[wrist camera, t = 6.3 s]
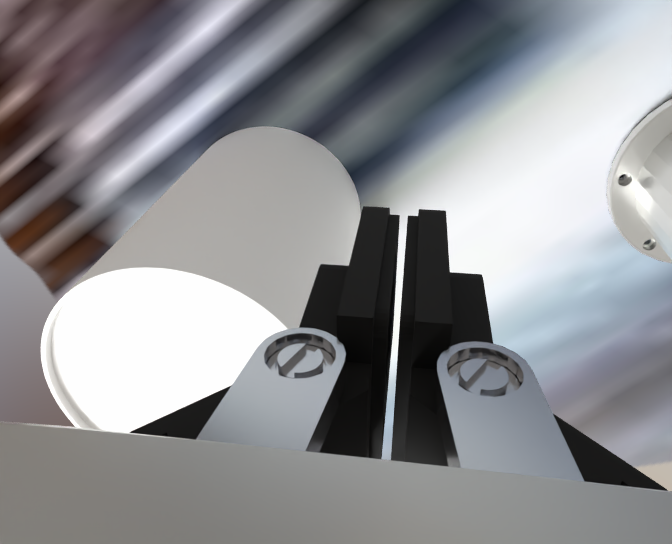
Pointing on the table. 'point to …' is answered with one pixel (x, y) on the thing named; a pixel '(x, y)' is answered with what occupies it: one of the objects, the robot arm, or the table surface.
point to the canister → (200, 280)
